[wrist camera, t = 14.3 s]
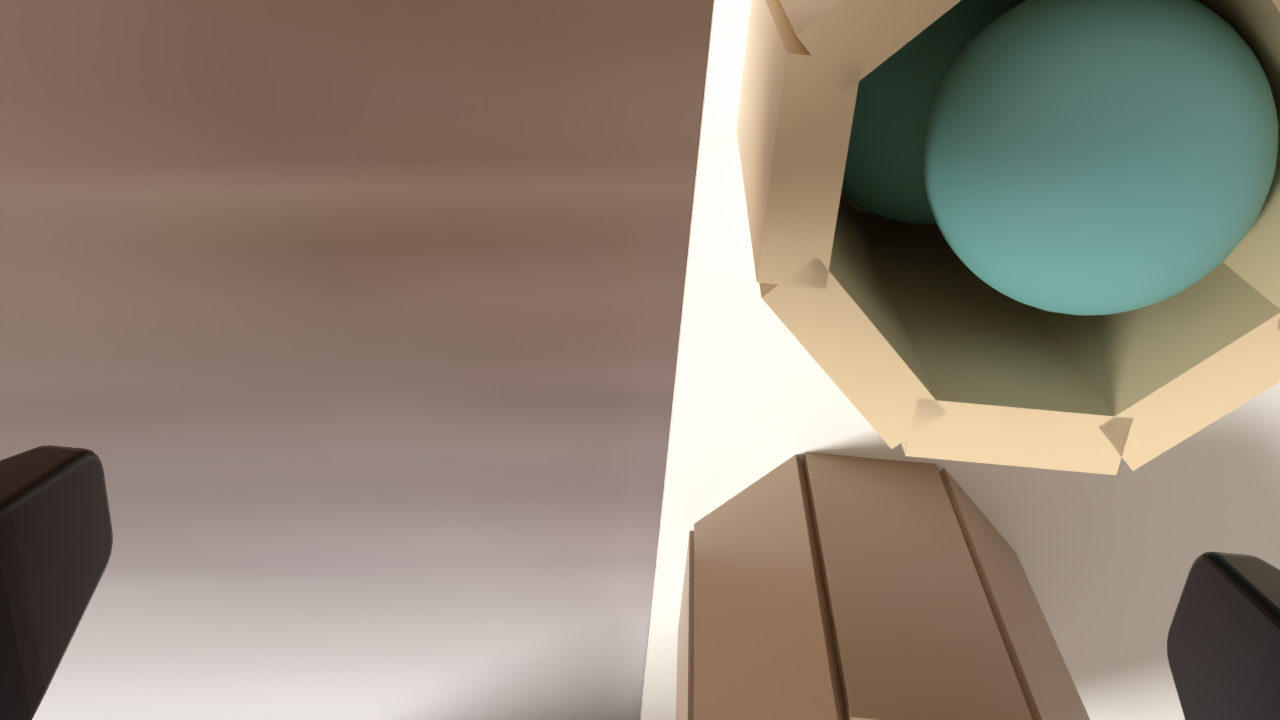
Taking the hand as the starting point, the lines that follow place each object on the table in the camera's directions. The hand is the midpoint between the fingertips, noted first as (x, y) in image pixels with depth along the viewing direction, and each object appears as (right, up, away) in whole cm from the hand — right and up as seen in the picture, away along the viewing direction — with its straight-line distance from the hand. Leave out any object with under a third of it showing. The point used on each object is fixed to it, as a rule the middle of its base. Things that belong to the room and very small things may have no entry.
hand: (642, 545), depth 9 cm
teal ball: (+6, +4, +4) cm, 8 cm away
